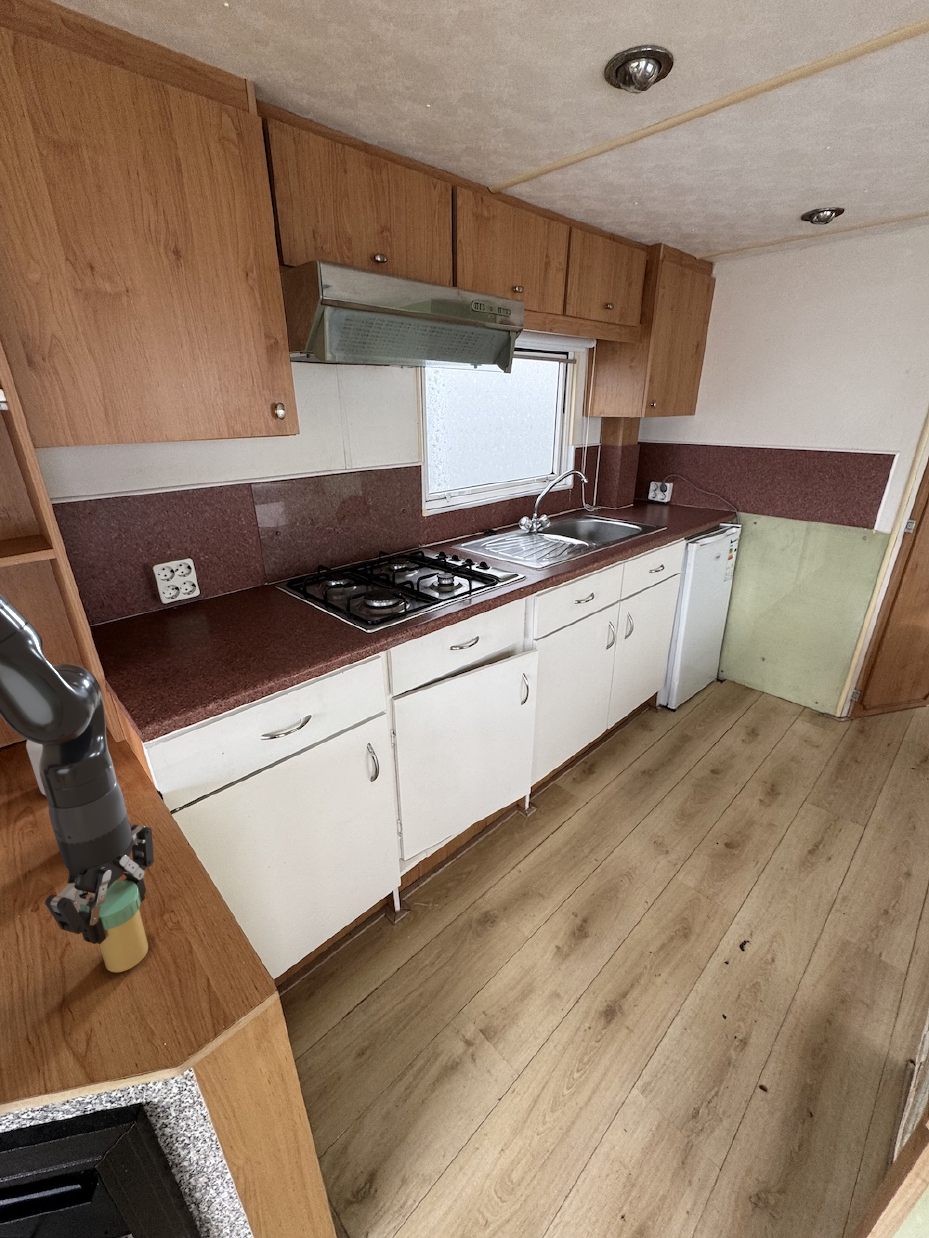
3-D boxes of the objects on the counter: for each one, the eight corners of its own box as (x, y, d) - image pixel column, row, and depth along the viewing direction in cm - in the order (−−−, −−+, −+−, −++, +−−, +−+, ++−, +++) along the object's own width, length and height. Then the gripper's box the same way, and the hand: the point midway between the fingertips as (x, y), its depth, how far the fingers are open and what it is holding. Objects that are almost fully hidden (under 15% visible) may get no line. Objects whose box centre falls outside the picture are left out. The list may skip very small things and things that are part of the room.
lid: (115, 935, 69) (111, 922, 68) (77, 924, 70) (73, 911, 69) (151, 897, 74) (148, 885, 74) (115, 888, 76) (112, 875, 75)
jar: (127, 976, 72) (112, 921, 69) (95, 967, 73) (79, 912, 70) (157, 942, 77) (144, 889, 73) (126, 934, 78) (113, 881, 75)
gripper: (61, 868, 60) (94, 975, 65) (160, 788, 73) (180, 884, 79) (9, 855, 61) (45, 960, 67) (114, 779, 74) (137, 873, 80)
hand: (118, 918), depth 73 cm, fingers closed on lid, 6 cm apart
